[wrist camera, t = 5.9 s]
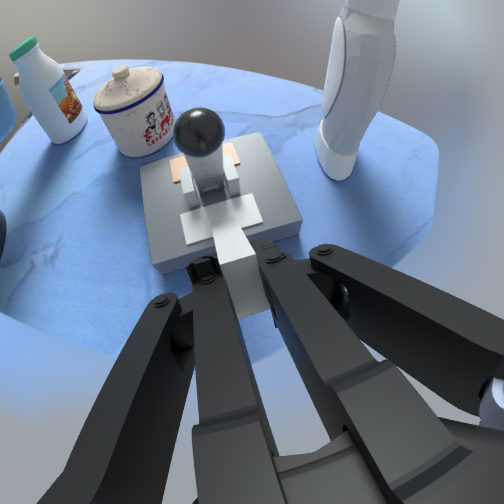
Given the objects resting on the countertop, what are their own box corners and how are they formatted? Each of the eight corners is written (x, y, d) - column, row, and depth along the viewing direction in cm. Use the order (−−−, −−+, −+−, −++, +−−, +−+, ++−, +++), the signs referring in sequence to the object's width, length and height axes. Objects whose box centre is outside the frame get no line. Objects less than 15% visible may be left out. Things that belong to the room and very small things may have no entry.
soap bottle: (295, 113, 35) (308, -55, 12) (349, 121, 34) (387, -38, 12) (292, 186, 30) (319, -50, 7) (360, 195, 29) (443, -13, 7)
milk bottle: (66, 149, 35) (8, 58, 16) (46, 142, 36) (-6, 64, 18) (96, 116, 37) (51, 24, 19) (74, 112, 39) (32, 33, 20)
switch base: (299, 234, 28) (306, 205, 23) (162, 275, 26) (142, 254, 21) (260, 149, 32) (260, 115, 27) (148, 182, 31) (132, 152, 26)
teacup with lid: (162, 162, 32) (132, 88, 21) (106, 158, 33) (70, 97, 22) (194, 103, 36) (180, 37, 26) (143, 103, 37) (122, 45, 27)
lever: (229, 194, 27) (231, 137, 13) (199, 203, 26) (174, 153, 13) (221, 166, 27) (216, 92, 13) (191, 175, 26) (164, 107, 13)
